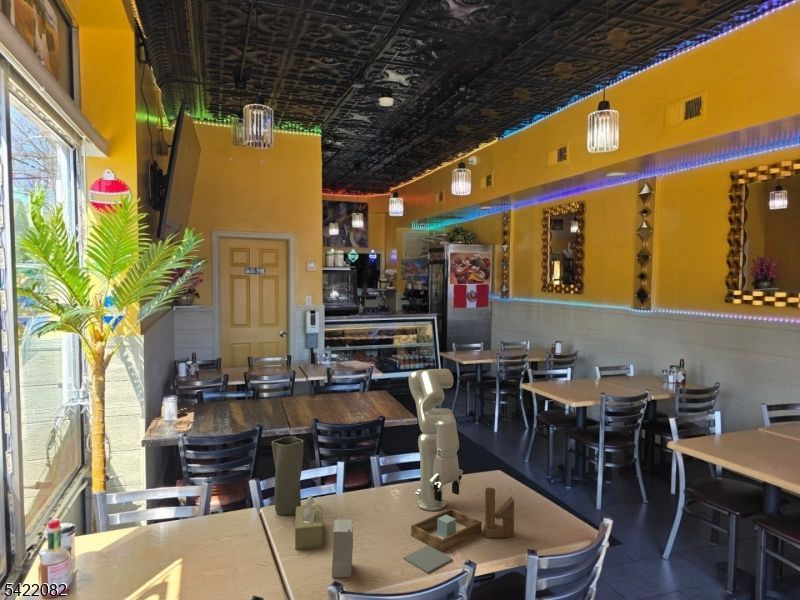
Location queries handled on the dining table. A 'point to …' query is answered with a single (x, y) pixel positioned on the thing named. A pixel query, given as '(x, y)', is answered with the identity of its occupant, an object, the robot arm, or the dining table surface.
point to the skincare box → (342, 548)
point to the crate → (444, 544)
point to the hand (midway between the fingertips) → (446, 497)
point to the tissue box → (308, 526)
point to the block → (446, 526)
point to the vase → (287, 474)
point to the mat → (427, 559)
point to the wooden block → (498, 516)
